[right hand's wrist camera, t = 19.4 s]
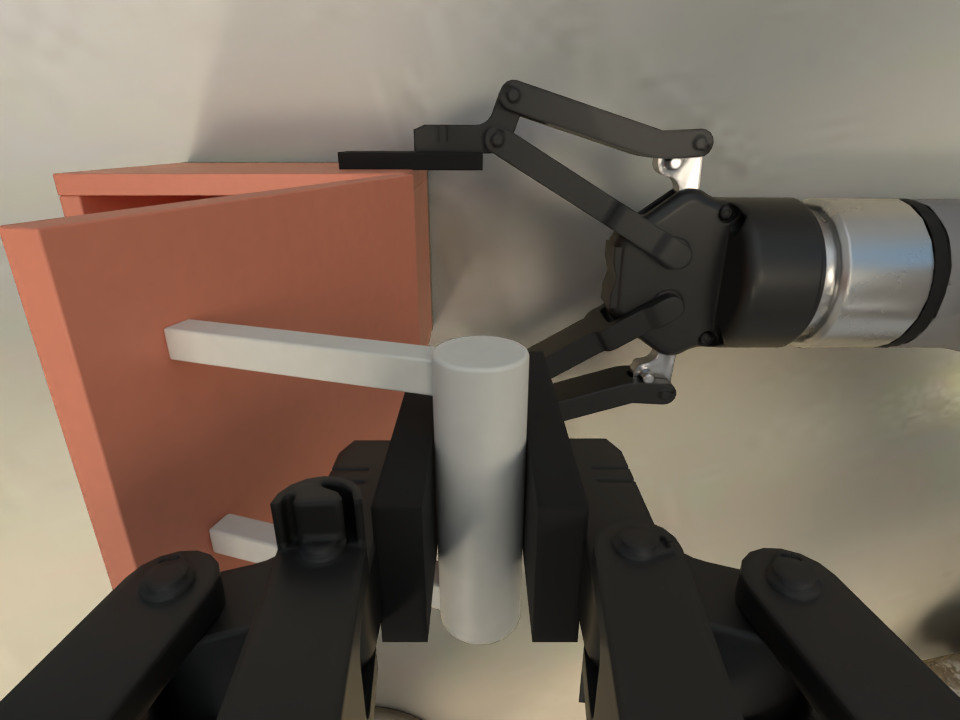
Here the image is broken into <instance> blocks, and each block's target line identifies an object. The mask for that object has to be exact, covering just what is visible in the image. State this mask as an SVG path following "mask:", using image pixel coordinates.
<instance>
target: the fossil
mask: <svg viewBox="0 0 960 720" xmlns="http://www.w3.org/2000/svg"><path fill="white" fill-rule="evenodd" d="M923 662H924V663H925V664H926V665H927V666H928V667H929V668H930V669H931V670H932V671H933V672H934V673H935V674H936V675H937V676H938V677H939V678H940V679H941V680H942V681H943V682H944V683H945V684H946V685H947V686H949V687H950V688H951V689H952V690H953V691H954V692H955V693H956V694H957V695H958V696H959V697H960V654H951V655H946V656H942V657H937V658H933V659H928V660H924V661H923Z"/></svg>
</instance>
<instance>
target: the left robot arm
mask: <svg viewBox="0 0 960 720" xmlns="http://www.w3.org/2000/svg"><path fill="white" fill-rule="evenodd" d="M519 117H523V118H526V119H529V120H532V121H535V122H538V123H541V124H544V125H547V126H550V127H553V128H556V129H558V130H561V131H564V132H567V133H570V134H573V135H576V136H579V137H582V138H585V139H588V140H591V141H594V142H597V143H600V144H603V145H606V146H609V147H612V148H615V149H618V150H621V151H624V152H627V153H630V154H633V155H637V156H643V157H651V158H653V162H652V163H653V168H654V170H655V171H656V172H657V173H658V174H661V175H665V176H667V177H669V178H670V179H671V181H672V184H673V189H672V190H670V191H668V192H667V193H665V194H664V195H663V196H661V197H660V198H658V199H657V200H655V201H654V202H652V203H651V204H649V205H648V206H647V207H645V208H644V209H642V210H641V211H639V212H638V213H637V212H635V211H633V210H632V209H630V208H629V207H627V206H626V205H624V204H622V203H621V202H619V201H617V200H616V199H614V198H613V197H611V196H610V195H608V194H607V193H605V192H604V191H602V190H600V189H599V188H597V187H596V186H594V185H593V184H591V183H590V182H588V181H587V180H585V179H584V178H582V177H581V176H579V175H577V174H576V173H574V172H573V171H571V170H570V169H568V168H567V167H565V166H564V165H562V164H561V163H559V162H558V161H556V160H554V159H553V158H551V157H550V156H548V155H547V154H545V153H544V152H542V151H541V150H539V149H538V148H536V147H535V146H533V145H531V144H530V143H528V142H527V141H525V140H524V139H522V138H521V137H519V136H518V135H516V134H515V133H514V131H515V128H516V125H517V122H518V120H519ZM713 143H714V142H713V136H712V134H711V132H709V131H708V130H706V129H683V130H665V131H663V130H660V129H657V128H654V127H651V126H648V125H645V124H642V123H639V122H637V121H634V120H631V119H628V118H625V117H622V116H619V115H616V114H613V113H611V112H608V111H605V110H602V109H599V108H596V107H593V106H590V105H587V104H584V103H582V102H579V101H576V100H573V99H570V98H567V97H564V96H561V95H558V94H555V93H553V92H550V91H547V90H544V89H541V88H538V87H535V86H532V85H529V84H526V83H524V82H521V81H518V80H510V81H507V82H506V83H505V84H504V85H503V86H502V88H501V90H500V92H499V94H498V97H497V100H496V103H495V106H494V109H493V112H492V114H491V117H490V118H489V119H488V120H487V121H486V122H485V123H482V124H479V125H423V126H421V127H418V128H416V129H414V151H345V152H338V161H339V169H412V170H483V153H493V154H495V155H496V156H498V157H500V158H501V159H503V160H504V161H506V162H507V163H509V164H511V165H512V166H514V167H515V168H517V169H518V170H520V171H521V172H523V173H525V174H526V175H528V176H529V177H531V178H532V179H534V180H536V181H537V182H539V183H540V184H542V185H543V186H545V187H547V188H548V189H550V190H551V191H553V192H554V193H556V194H558V195H559V196H561V197H562V198H564V199H565V200H567V201H569V202H570V203H572V204H573V205H575V206H576V207H578V208H579V209H581V210H583V211H584V212H586V213H587V214H589V215H590V216H592V217H594V218H595V219H597V220H598V221H600V222H601V223H603V224H605V225H606V226H608V227H609V228H611V229H612V230H614V232H613V233H612V235H611V237H610V239H609V240H606V248H605V258H606V263H607V273H606V276H605V278H604V281H603V284H602V295H601V298H602V300H603V301H604V304H603V305H601V306H599V307H597V308H595V309H593V310H592V311H590V312H589V313H588V314H587V315H586V317H585V318H583V319H582V320H580V321H578V322H576V323H574V324H572V325H571V326H569V327H567V328H565V329H563V330H561V331H560V332H558V333H556V334H554V335H552V336H550V337H549V338H547V339H545V340H543V341H541V342H539V343H537V344H536V345H534V346H532V347H530V348H528V349H527V350H528V351H543V353H544V356H545V359H546V363H547V366H548V370H549V373H550V376H551V378H553V377H555V376H557V375H559V374H561V373H563V372H564V371H566V370H568V369H570V368H572V367H574V366H576V365H578V364H580V363H582V362H583V361H585V360H587V359H589V358H591V357H593V356H595V355H597V354H599V353H600V352H603V351H612V350H615V349H617V348H619V347H621V346H623V345H624V344H626V343H628V342H630V341H632V340H634V339H636V338H639V339H640V340H642V341H643V342H644V343H646V344H647V345H649V346H650V347H651V348H652V351H651V352H650V353H649V354H648V355H647V356H645V357H641V358H635V359H634V360H633V361H632V363H631V365H630V366H617V367H612V368H608V369H604V370H601V371H597V372H593V373H590V374H586V375H582V376H579V377H575V378H572V379H568V380H564V381H561V382H557V383H553V386H554V390H555V393H556V397H557V400H558V403H559V407H560V410H561V413H562V417H563V420H564V421H566V420H570V419H573V418H577V417H581V416H585V415H588V414H592V413H596V412H600V411H603V410H607V409H611V408H615V407H618V406H622V405H626V404H630V403H645V404H668V403H670V402H672V401H673V400H674V399H675V396H676V390H675V388H674V386H673V385H672V384H671V376H672V371H673V366H674V361H675V356H676V355H677V354H680V353H682V352H684V351H686V350H688V349H691V348H694V347H699V346H705V347H783V346H786V345H788V344H789V345H791V346H794V347H798V348H828V347H886V348H888V347H924V348H946V349H952V350H957V351H960V199H920V200H910V199H888V198H808V199H806V200H803V201H800V200H798V199H795V198H719V197H712V196H709V195H708V194H706V193H705V192H703V191H701V190H700V180H701V169H702V158H703V156H705V155H706V154H708V153H709V152H710V150H711V149H712V146H713ZM373 720H420V719H418V718H416V717H414V716H411V715H409V714H406V713H403V712H400V711H397V710H393V709H388V708H382V707H375V708H374V719H373Z"/></svg>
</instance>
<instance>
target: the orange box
mask: <svg viewBox="0 0 960 720" xmlns="http://www.w3.org/2000/svg"><path fill="white" fill-rule="evenodd" d="M0 235H1V239H2V242H3V245H4V248H5V251H6V254H7V258H8V261H9V264H10V267H11V270H12V273H13V276H14V280H15V283H16V286H17V289H18V292H19V295H20V298H21V302H22V305H23V308H24V311H25V314H26V317H27V321H28V324H29V327H30V330H31V333H32V336H33V339H34V343H35V346H36V349H37V352H38V355H39V358H40V362H41V365H42V368H43V371H44V374H45V377H46V380H47V384H48V387H49V390H50V393H51V396H52V399H53V402H54V406H55V409H56V412H57V415H58V418H59V421H60V425H61V428H62V431H63V434H64V437H65V440H66V443H67V447H68V450H69V453H70V456H71V459H72V462H73V466H74V469H75V472H76V475H77V478H78V481H79V484H80V488H81V491H82V494H83V497H84V500H85V503H86V507H87V510H88V513H89V516H90V519H91V522H92V525H93V529H94V532H95V535H96V538H97V541H98V544H99V547H100V551H101V554H102V557H103V560H104V563H105V566H106V570H107V573H108V576H109V579H110V582H111V585H112V588H113V590H114V589H115V588H116V587H117V586H118V585H119V584H120V583H121V582H122V581H123V580H124V579H125V578H126V577H127V576H128V575H130V574H131V573H132V572H134V571H135V570H136V569H137V568H139V567H140V566H141V565H143V564H145V563H147V562H149V561H151V560H154V559H156V558H158V557H160V556H163V555H167V554H170V553H174V552H178V551H196V550H197V551H201V552H204V553H207V554H211V555H212V556H213V557H214V559H215V560H216V561H217V562H218V563H219V568H220V572H222V571H226V570H230V569H235V568H239V567H244V566H248V565H252V564H256V563H259V562H262V561H266V560H268V559H270V558H272V557H275V555H276V553H277V550H278V548H277V543H276V537H275V531H274V525H273V519H272V513H271V507H270V503H271V502H272V501H273V499H274V498H275V497H276V495H277V494H278V493H279V492H281V491H282V490H284V489H285V488H287V487H288V486H290V485H291V484H294V483H297V482H299V481H302V480H305V479H308V478H314V477H321V476H329V474H330V472H331V471H332V467H333V465H334V463H335V461H336V458H337V456H338V454H339V453H340V452H341V451H342V450H343V449H344V448H346V447H347V446H348V445H349V444H350V443H352V442H353V441H354V440H391V437H392V434H393V430H394V427H395V424H396V420H397V417H398V413H399V410H400V407H401V403H402V400H403V397H404V393H405V392H409V393H416V394H423V395H430V396H433V417H434V446H435V474H436V502H437V531H438V559H439V561H436V566H435V576H434V585H433V595H432V605H431V607H432V608H436V609H440V614H441V619H442V622H443V624H444V626H445V627H446V629H447V630H448V631H449V633H450V634H452V635H453V636H454V637H455V638H457V639H459V640H461V641H463V642H466V643H470V644H476V645H485V644H491V643H495V642H498V641H500V640H502V639H504V638H505V637H507V636H508V635H509V634H510V633H511V632H512V631H513V630H514V629H515V627H516V625H517V624H518V621H519V618H520V606H521V577H522V549H523V521H524V492H525V464H526V436H527V407H528V379H529V353H528V350H527V349H526V348H525V347H524V346H523V345H522V344H520V343H518V342H516V341H513V340H510V339H506V338H501V337H494V336H466V337H460V338H455V339H451V340H448V341H445V342H443V343H441V344H439V345H438V346H436V347H432V346H423V345H420V332H419V308H418V285H417V262H416V238H415V215H414V192H413V175H411V174H390V175H383V176H375V177H367V178H360V179H352V180H345V181H337V182H329V183H322V184H314V185H306V186H299V187H291V188H284V189H276V190H268V191H261V192H253V193H245V194H238V195H230V196H222V197H215V198H207V199H200V200H192V201H184V202H177V203H169V204H161V205H154V206H146V207H139V208H131V209H123V210H116V211H108V212H100V213H93V214H85V215H77V216H70V217H62V218H55V219H47V220H39V221H32V222H24V223H16V224H9V225H2V226H0Z"/></svg>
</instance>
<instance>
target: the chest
mask: <svg viewBox="0 0 960 720" xmlns="http://www.w3.org/2000/svg"><path fill="white" fill-rule="evenodd" d="M390 174H411V175H413V192H414V215H415V238H416V262H417V285H418V308H419V332H420V345H423V346H428V344H429V340H430V336H431V332H432V330H433V310H432V280H431V250H430V219H429V189H428V170H412V169H339V162H183V163H174V164H162V165H150V166H139V167H127V168H115V169H103V170H91V171H79V172H67V173H55V174H53V177H54V181H55V184H56V188H57V192H58V195H60V201H61V205H62V208H63V212H64V216H65V217H70V216H77V215H85V214H93V213H100V212H108V211H116V210H123V209H131V208H139V207H146V206H154V205H161V204H169V203H177V202H184V201H192V200H200V199H207V198H215V197H222V196H230V195H238V194H245V193H253V192H261V191H268V190H276V189H284V188H291V187H299V186H306V185H314V184H322V183H329V182H337V181H345V180H352V179H360V178H367V177H375V176H383V175H390Z"/></svg>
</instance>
